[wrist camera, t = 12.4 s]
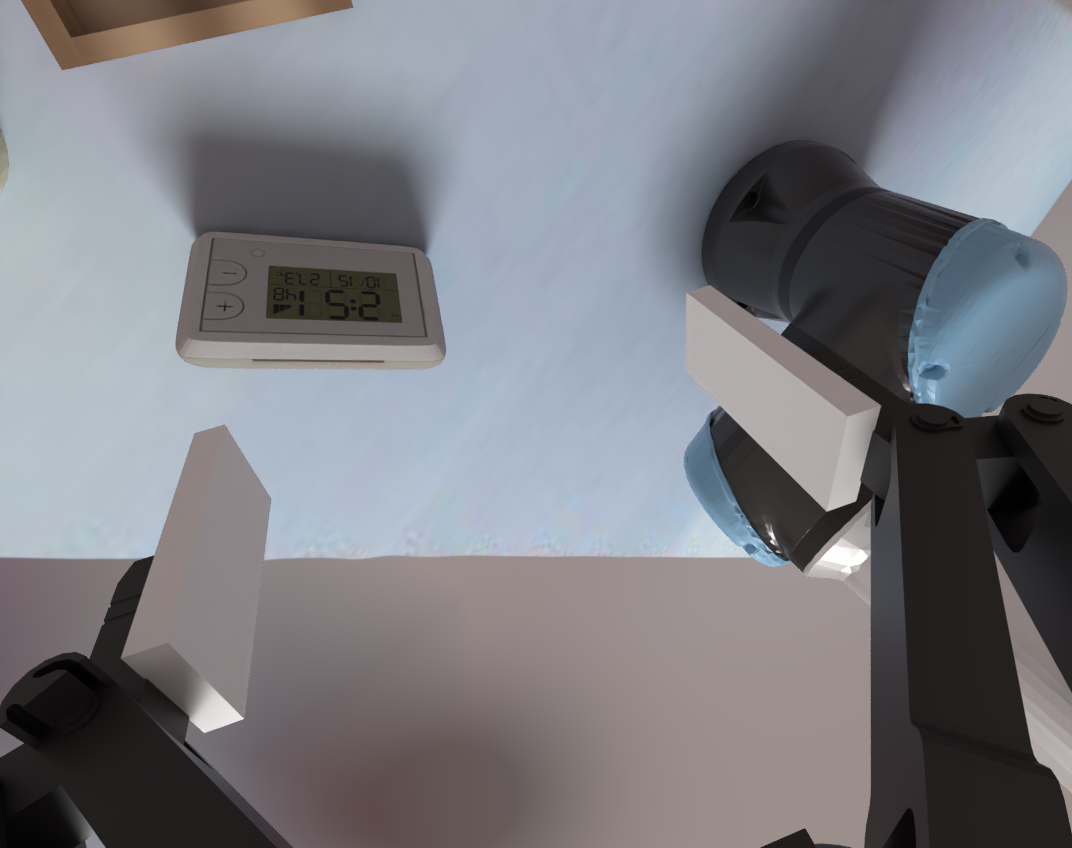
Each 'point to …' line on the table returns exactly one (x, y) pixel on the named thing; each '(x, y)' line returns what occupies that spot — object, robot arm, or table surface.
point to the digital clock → (308, 305)
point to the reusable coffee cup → (3, 162)
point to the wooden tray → (154, 23)
